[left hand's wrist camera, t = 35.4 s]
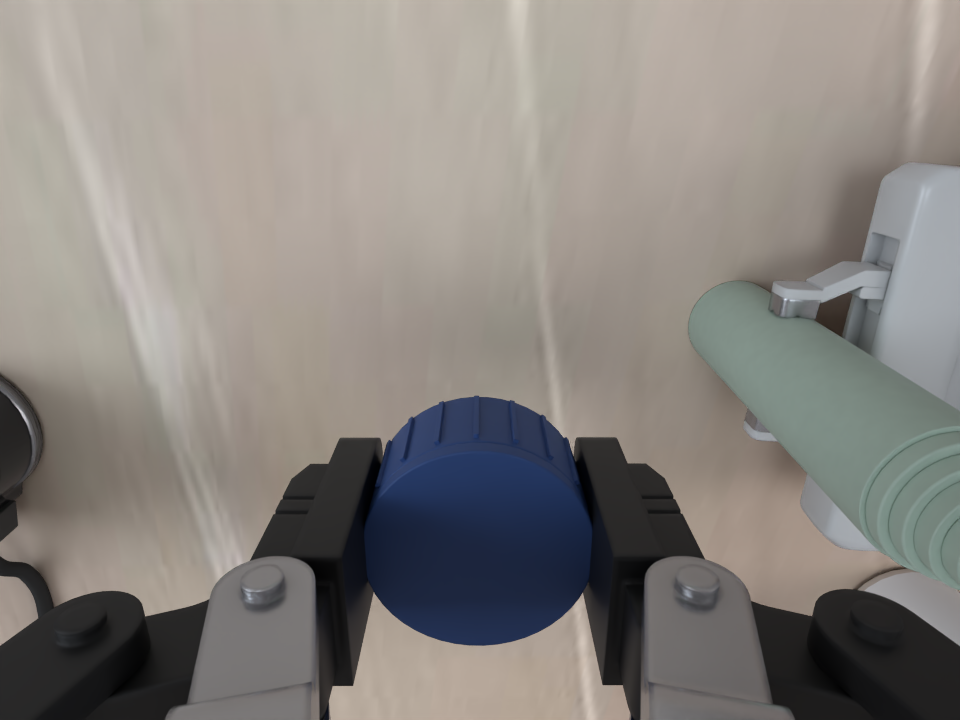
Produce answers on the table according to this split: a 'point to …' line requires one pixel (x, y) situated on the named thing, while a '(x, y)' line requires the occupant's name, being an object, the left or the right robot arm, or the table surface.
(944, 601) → the mug
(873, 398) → the bottle
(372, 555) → the cap
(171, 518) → the table surface
